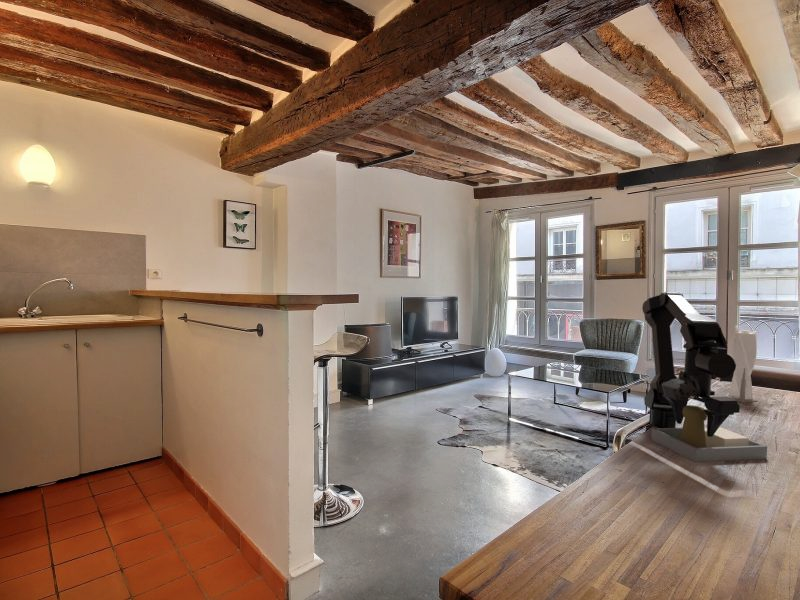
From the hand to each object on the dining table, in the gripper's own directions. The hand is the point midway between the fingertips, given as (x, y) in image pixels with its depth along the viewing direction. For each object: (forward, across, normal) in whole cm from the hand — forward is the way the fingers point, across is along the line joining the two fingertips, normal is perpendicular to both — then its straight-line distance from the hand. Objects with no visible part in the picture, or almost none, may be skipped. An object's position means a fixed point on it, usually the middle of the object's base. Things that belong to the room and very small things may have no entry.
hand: (693, 429), depth 109 cm
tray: (+6, 0, +4) cm, 7 cm away
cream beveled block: (+5, 0, +8) cm, 10 cm away
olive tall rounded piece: (+5, 0, 0) cm, 5 cm away
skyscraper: (+6, -45, +65) cm, 79 cm away
